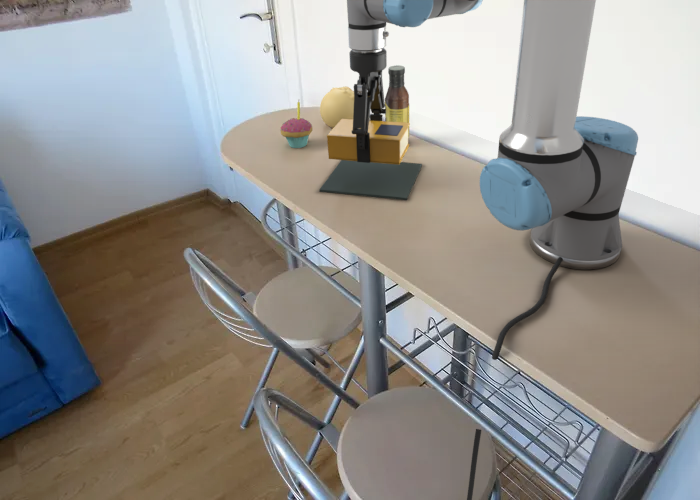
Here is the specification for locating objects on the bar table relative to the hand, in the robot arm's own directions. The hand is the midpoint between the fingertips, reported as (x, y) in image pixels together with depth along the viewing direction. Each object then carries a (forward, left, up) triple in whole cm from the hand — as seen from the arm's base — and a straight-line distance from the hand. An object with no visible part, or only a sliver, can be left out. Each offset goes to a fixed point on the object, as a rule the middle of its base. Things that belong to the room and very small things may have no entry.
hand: (370, 151), depth 117 cm
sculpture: (+34, +18, -7) cm, 39 cm away
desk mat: (+1, 0, -7) cm, 7 cm away
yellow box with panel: (0, 0, 0) cm, 0 cm away
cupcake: (+17, +25, -7) cm, 31 cm away
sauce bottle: (+23, -1, -7) cm, 24 cm away
